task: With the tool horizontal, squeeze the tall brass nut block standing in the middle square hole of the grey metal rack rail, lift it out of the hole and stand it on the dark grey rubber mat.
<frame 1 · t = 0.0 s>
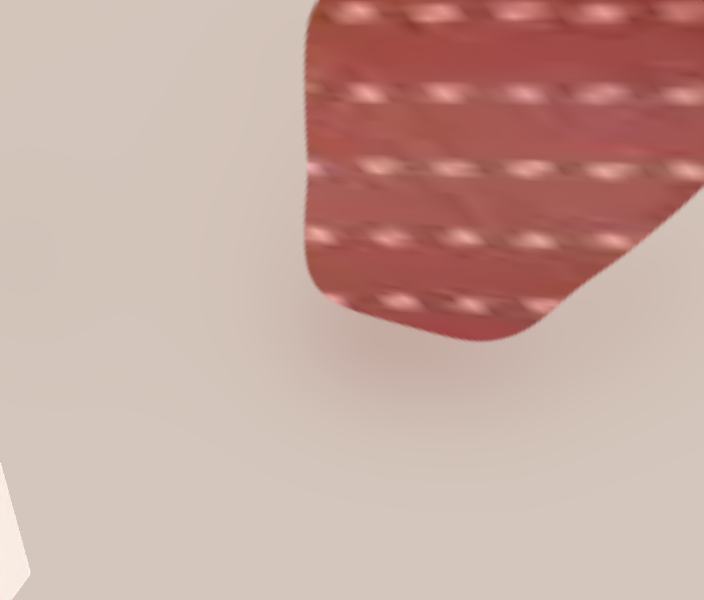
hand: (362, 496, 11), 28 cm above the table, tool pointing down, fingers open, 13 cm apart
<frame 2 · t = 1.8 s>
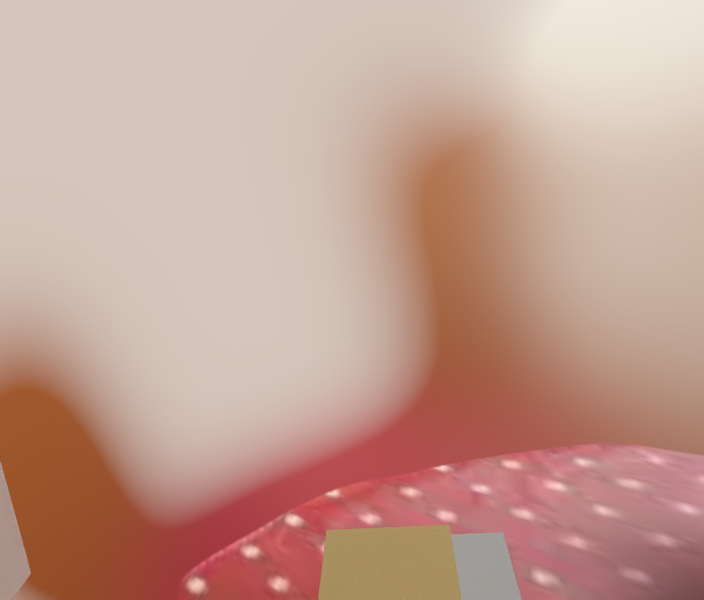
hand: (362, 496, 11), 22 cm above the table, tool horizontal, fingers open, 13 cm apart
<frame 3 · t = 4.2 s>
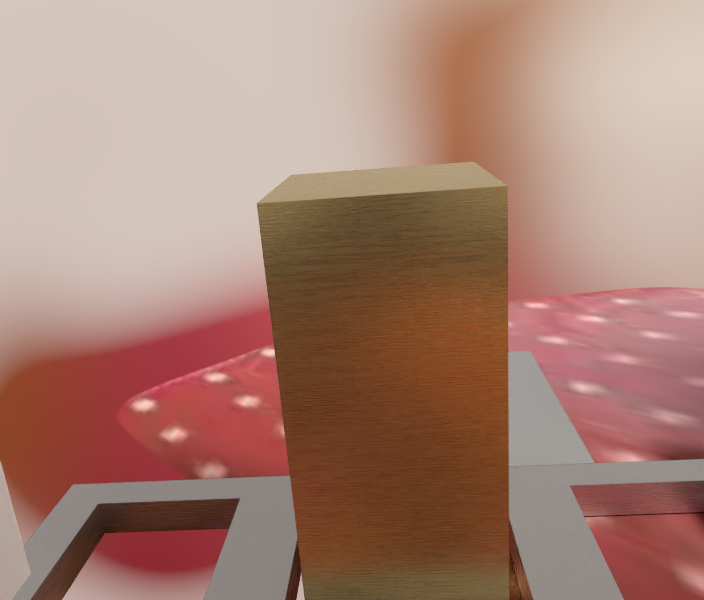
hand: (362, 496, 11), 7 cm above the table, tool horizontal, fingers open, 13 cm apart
nut block: (407, 593, 19), resting in rack rail
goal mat: (434, 410, 29), on the table
rack rail: (407, 592, 19), on the table
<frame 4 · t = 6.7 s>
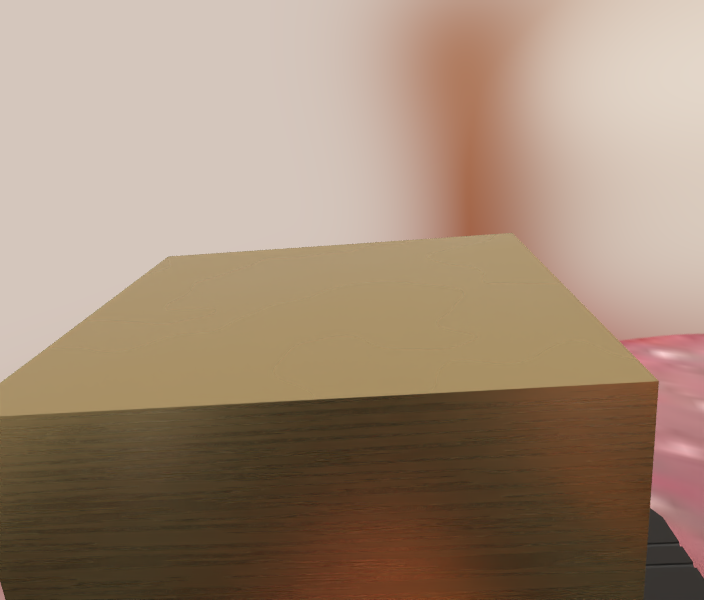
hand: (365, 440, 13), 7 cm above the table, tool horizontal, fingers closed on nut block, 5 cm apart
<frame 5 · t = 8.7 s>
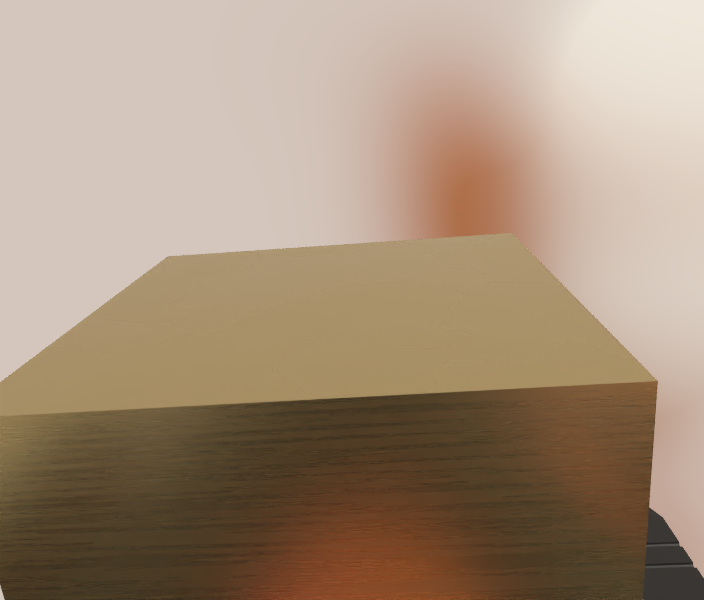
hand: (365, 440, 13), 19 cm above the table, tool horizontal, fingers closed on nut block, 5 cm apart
when the fingers open (9 cm above the table, at t = 10.9 s): nut block drops 1 cm, resting on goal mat.
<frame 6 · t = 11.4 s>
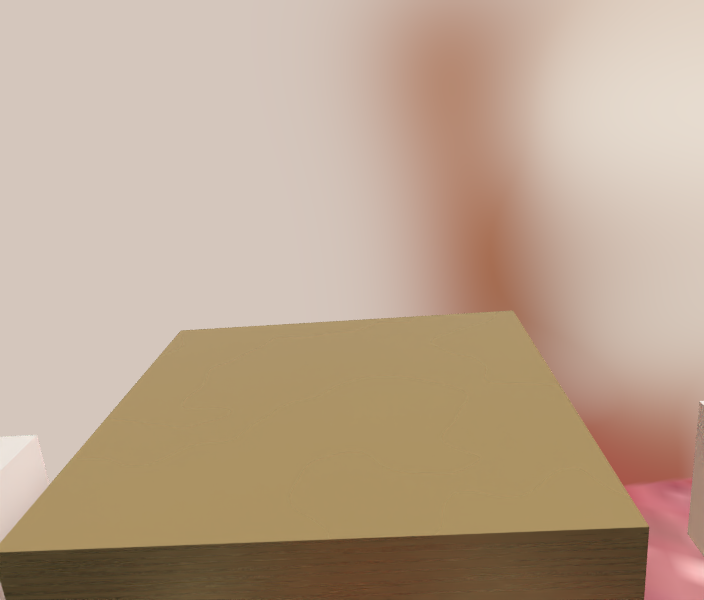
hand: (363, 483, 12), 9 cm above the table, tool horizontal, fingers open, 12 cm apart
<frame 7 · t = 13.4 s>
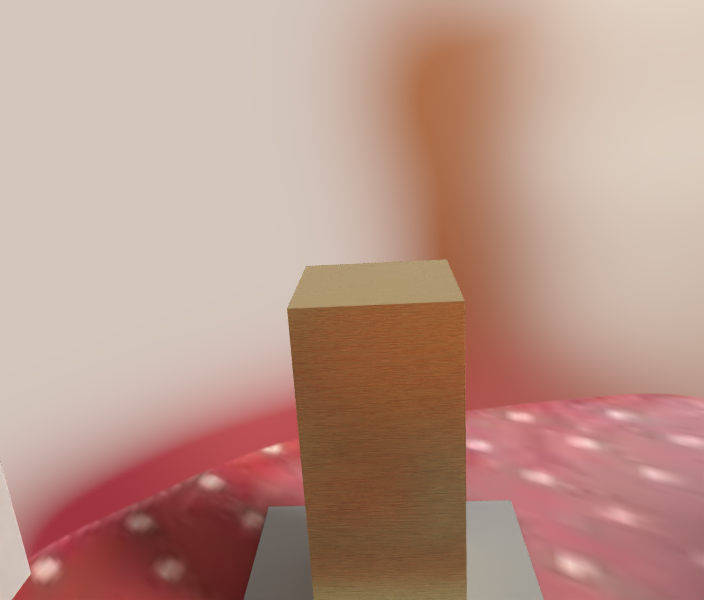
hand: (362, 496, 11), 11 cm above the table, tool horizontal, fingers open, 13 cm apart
nut block: (390, 591, 24), resting on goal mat
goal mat: (391, 599, 24), on the table
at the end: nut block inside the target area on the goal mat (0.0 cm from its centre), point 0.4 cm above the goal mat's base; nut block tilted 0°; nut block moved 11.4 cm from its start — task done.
